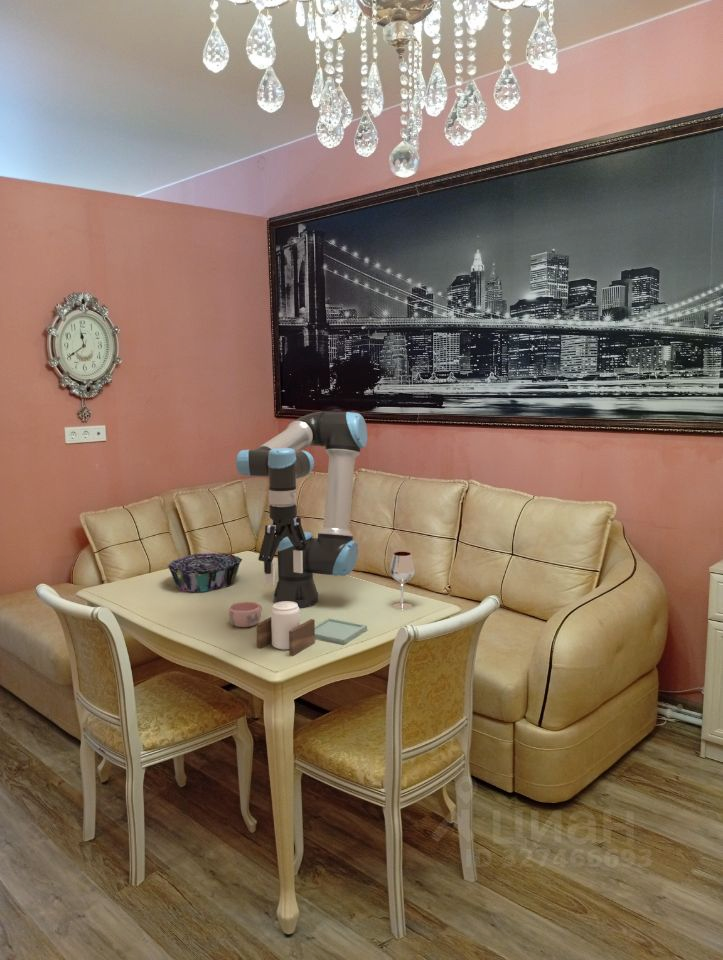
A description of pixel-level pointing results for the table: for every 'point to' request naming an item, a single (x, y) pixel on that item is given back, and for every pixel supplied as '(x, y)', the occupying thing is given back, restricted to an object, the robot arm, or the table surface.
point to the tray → (338, 631)
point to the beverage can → (283, 622)
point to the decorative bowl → (204, 571)
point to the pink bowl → (244, 613)
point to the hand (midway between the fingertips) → (284, 578)
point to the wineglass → (402, 574)
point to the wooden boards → (297, 636)
